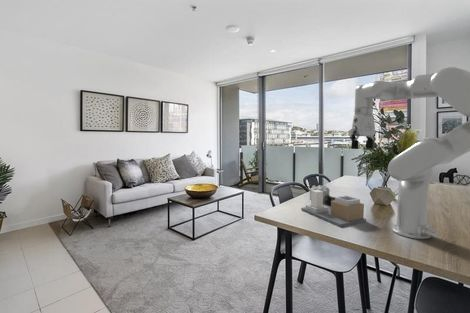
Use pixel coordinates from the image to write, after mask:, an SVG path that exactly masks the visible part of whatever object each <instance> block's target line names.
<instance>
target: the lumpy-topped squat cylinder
mask: <svg viewBox="0 0 470 313" xmlns="http://www.w3.org/2000/svg"><path fill="white" fill-rule="evenodd" d="M312 190H320V191H323V199H324V197H325V196H326V194H327V193H328V194H329V195H330V191H331V190H330V188H329V187H327V186H326V185H323V186H322V185H312V186H311V188H310V189H309V201H310V200H311V191H312Z"/></svg>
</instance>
